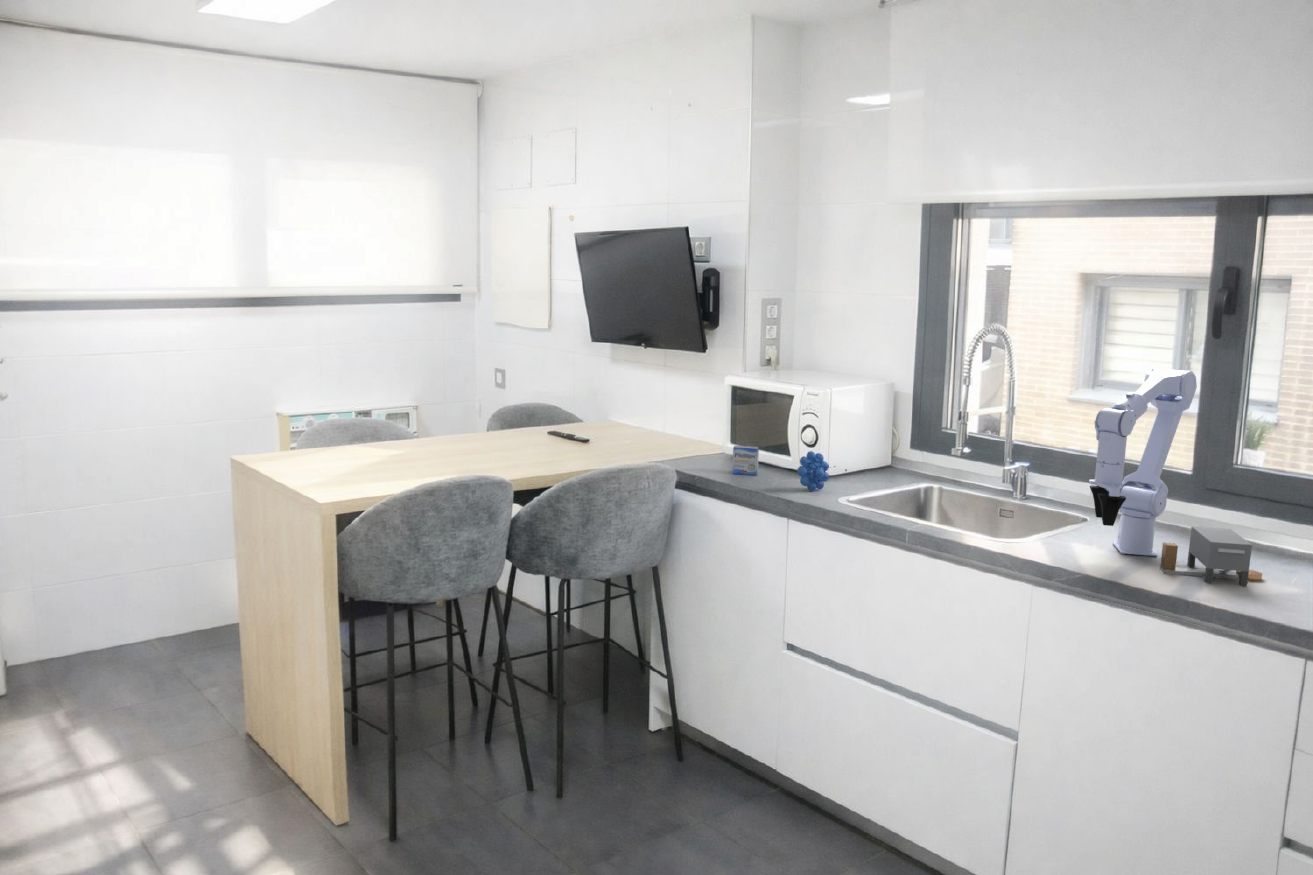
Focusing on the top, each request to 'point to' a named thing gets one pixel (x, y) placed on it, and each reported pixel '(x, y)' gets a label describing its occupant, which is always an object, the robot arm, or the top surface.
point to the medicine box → (745, 460)
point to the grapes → (813, 471)
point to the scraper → (1170, 568)
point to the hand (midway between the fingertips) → (1104, 521)
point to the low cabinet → (1219, 551)
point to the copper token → (1252, 575)
